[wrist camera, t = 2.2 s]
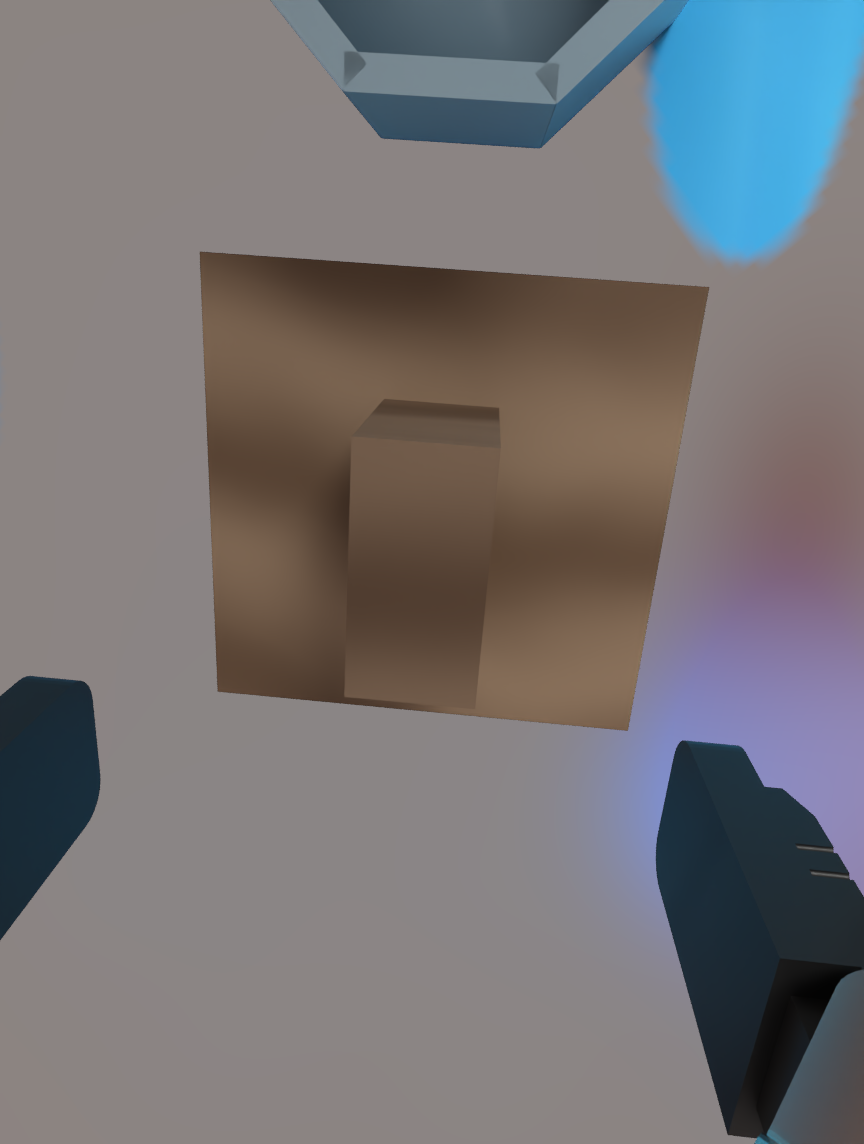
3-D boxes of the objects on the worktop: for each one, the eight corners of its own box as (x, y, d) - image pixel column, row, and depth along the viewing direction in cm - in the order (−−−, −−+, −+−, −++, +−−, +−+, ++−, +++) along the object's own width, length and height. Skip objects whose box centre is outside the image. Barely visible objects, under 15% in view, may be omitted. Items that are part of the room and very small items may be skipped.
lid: (210, 252, 20) (105, 244, 15) (700, 286, 19) (781, 292, 14) (225, 678, 24) (150, 793, 19) (623, 716, 24) (661, 845, 19)
